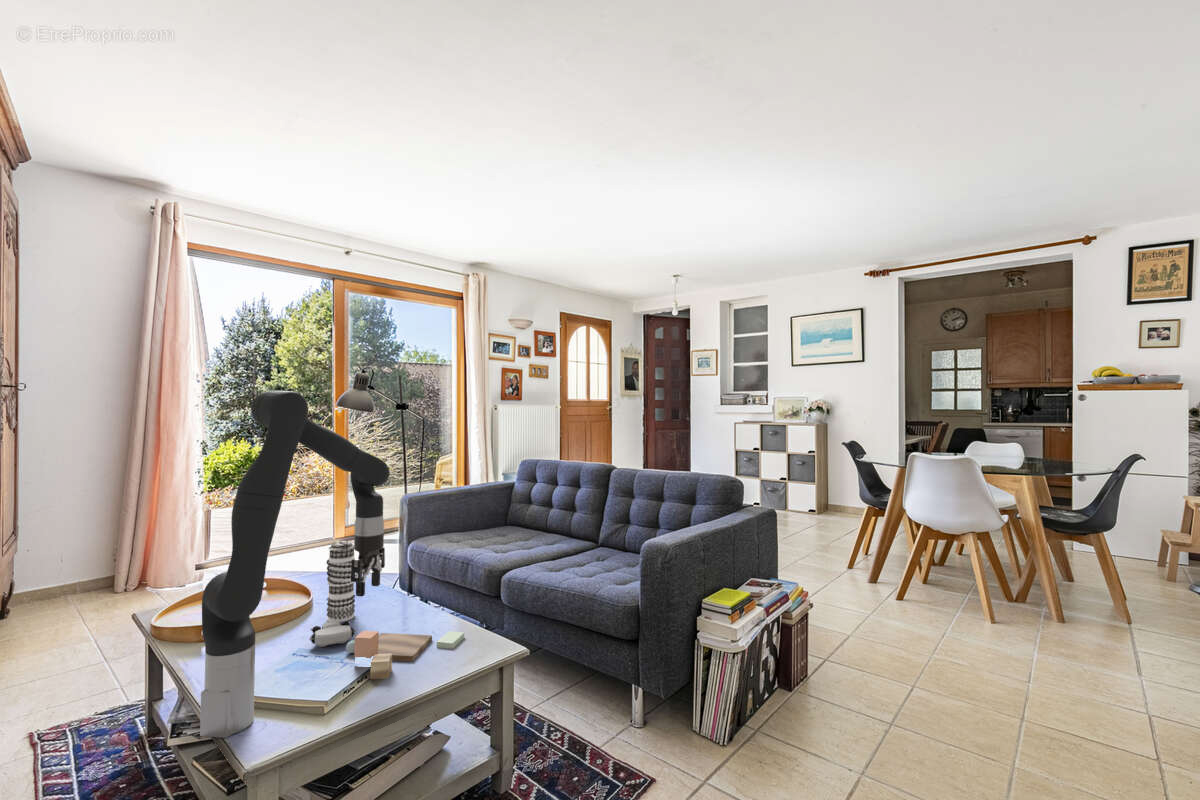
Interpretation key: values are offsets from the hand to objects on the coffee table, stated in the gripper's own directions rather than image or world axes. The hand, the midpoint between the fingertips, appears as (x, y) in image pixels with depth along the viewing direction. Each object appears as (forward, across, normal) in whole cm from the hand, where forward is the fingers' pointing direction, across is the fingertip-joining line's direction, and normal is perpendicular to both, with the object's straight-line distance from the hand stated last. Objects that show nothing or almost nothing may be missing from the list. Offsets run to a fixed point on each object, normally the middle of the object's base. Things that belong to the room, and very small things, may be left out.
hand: (368, 590), depth 153 cm
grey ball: (+18, +5, +7) cm, 20 cm away
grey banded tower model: (+20, +30, +25) cm, 44 cm away
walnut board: (+20, +9, -4) cm, 22 cm away
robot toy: (+20, +13, +18) cm, 30 cm away
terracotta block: (+20, -1, 0) cm, 20 cm away
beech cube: (+20, -6, -7) cm, 22 cm away
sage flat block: (+20, +15, -18) cm, 31 cm away
